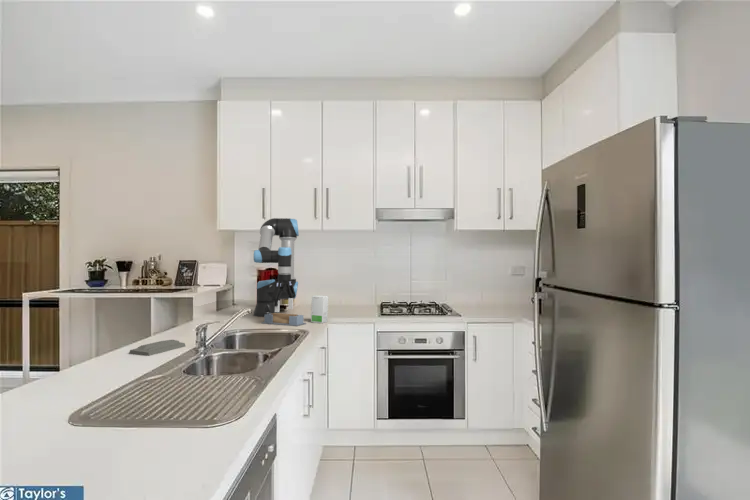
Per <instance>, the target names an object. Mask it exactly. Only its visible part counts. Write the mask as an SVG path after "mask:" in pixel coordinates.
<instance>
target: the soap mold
mask: <svg viewBox="0 0 750 500" xmlns="http://www.w3.org/2000/svg"><path fill="white" fill-rule="evenodd" d="M185 347H186V343H185V342H182V341H181V342H180V341H179V340H177V339H167V340H161V341H156V342H152V343H151V342H150V343H146V344H143V345H139V346H138V347H137V348H133V349H130V350H129V352H128V354H129V355H135V356H148V357H150V356H154V355H158V354H162V353H166V352H170V351H174V350H177V349H181V348H185Z"/></svg>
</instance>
